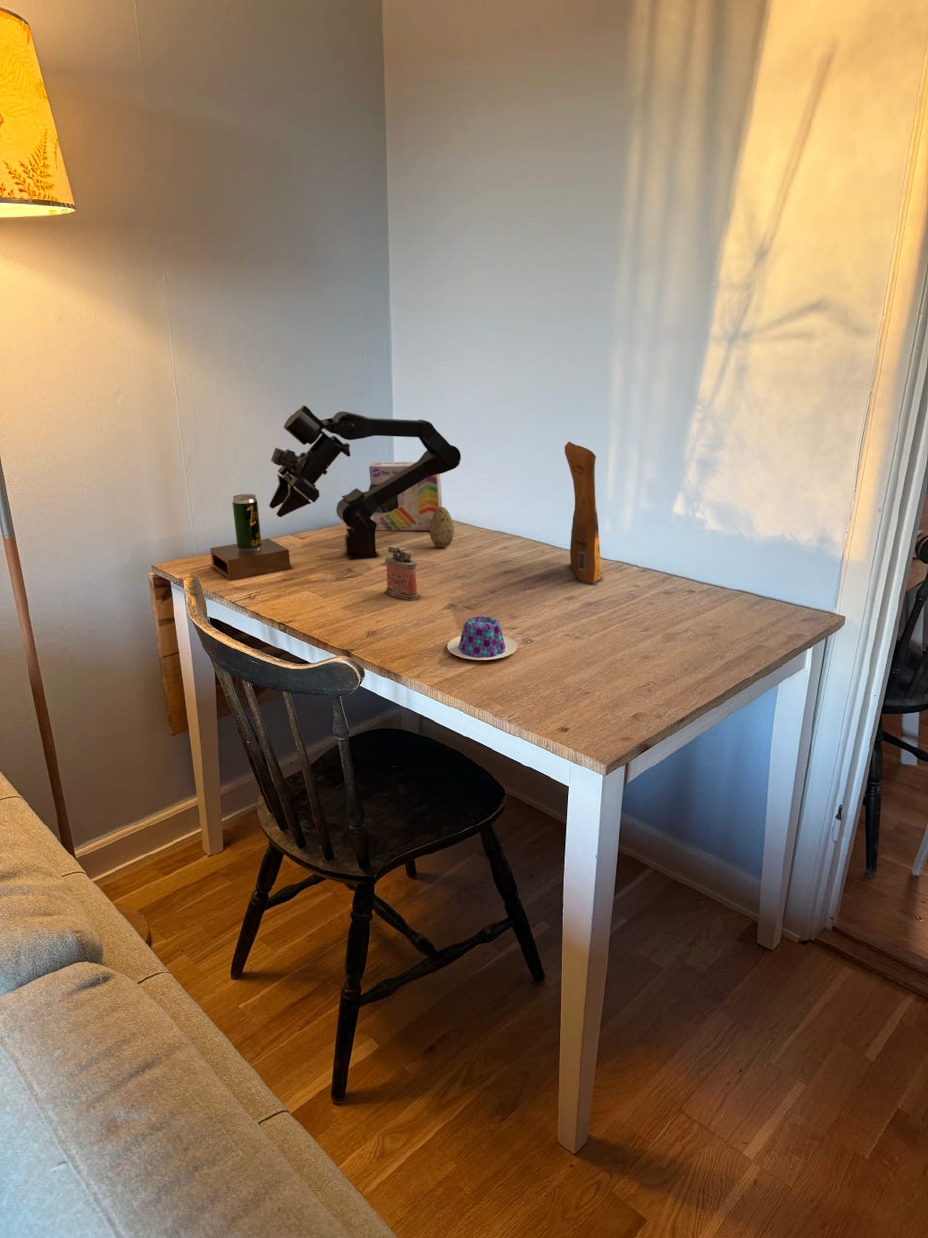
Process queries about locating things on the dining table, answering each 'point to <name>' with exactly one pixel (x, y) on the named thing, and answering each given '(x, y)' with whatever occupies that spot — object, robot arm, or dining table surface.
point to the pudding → (482, 640)
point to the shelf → (250, 560)
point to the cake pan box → (406, 499)
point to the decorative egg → (441, 528)
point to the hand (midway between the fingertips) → (274, 511)
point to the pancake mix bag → (584, 515)
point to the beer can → (247, 522)
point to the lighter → (401, 574)
